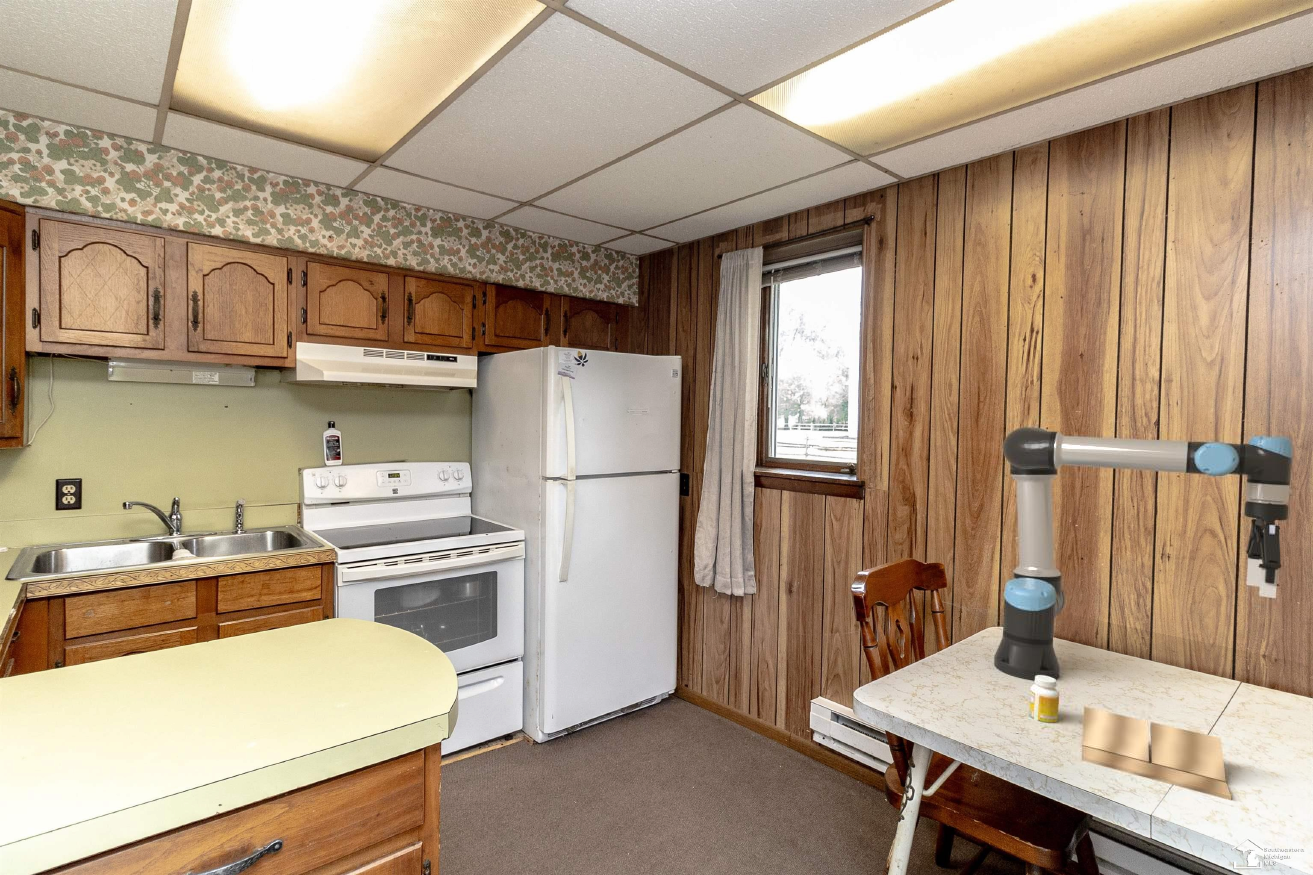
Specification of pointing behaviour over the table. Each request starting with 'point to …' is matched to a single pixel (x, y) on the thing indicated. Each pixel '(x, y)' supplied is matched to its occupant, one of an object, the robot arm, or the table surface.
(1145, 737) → the plank
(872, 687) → the table surface
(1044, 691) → the supplement bottle
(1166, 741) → the plank
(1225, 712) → the table surface
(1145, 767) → the laid floorboard
